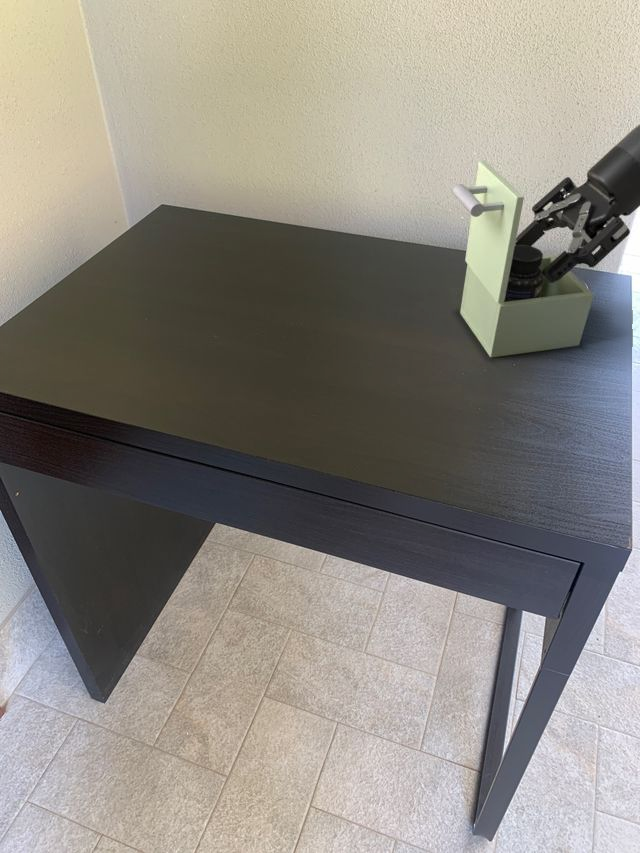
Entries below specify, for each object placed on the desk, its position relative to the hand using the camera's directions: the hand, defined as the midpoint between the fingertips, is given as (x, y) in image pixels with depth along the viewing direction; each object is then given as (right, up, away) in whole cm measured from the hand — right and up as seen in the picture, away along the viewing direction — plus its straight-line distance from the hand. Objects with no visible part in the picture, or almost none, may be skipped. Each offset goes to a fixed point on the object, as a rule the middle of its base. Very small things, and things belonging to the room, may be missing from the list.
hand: (531, 262), depth 89 cm
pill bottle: (-1, -7, +6) cm, 10 cm away
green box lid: (-6, +3, -4) cm, 8 cm away
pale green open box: (0, -8, +7) cm, 10 cm away
